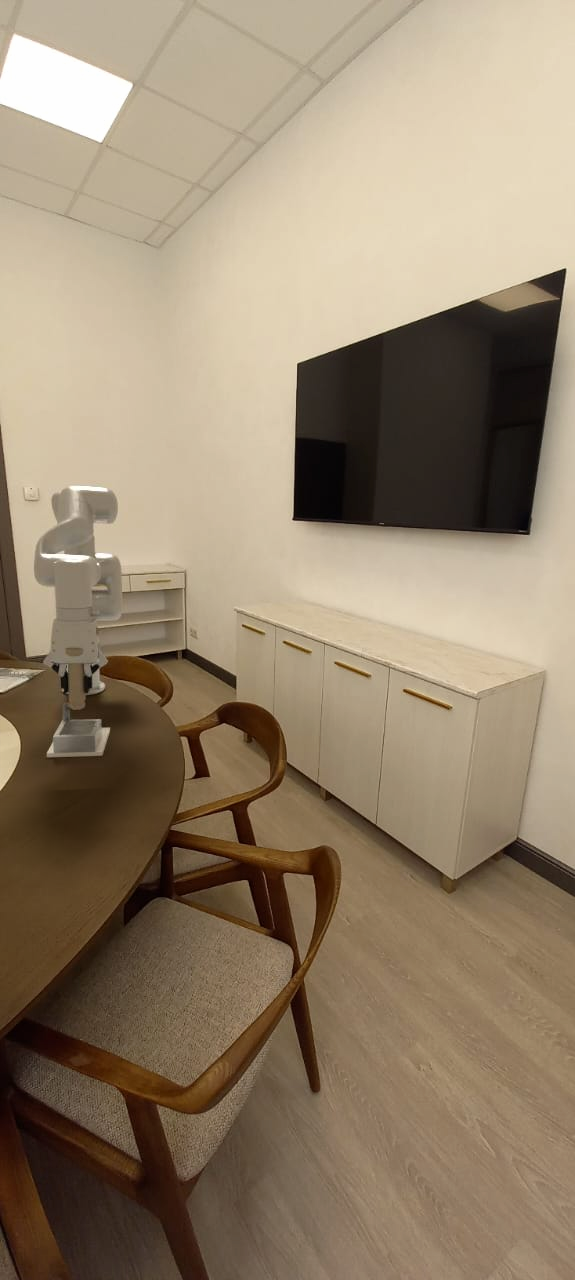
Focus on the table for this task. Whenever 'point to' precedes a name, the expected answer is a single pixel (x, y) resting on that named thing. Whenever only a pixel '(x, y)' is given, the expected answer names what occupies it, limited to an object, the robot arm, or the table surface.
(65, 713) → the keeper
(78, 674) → the handle
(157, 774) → the table surface
